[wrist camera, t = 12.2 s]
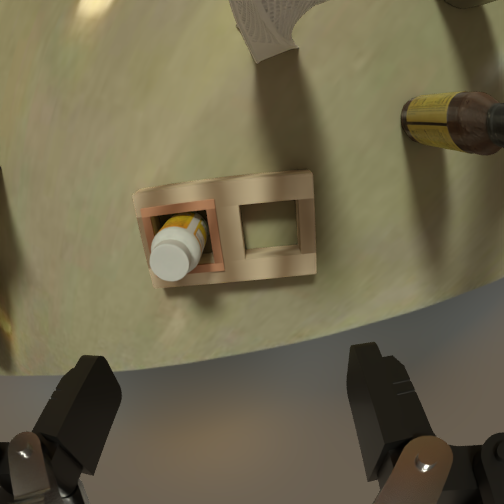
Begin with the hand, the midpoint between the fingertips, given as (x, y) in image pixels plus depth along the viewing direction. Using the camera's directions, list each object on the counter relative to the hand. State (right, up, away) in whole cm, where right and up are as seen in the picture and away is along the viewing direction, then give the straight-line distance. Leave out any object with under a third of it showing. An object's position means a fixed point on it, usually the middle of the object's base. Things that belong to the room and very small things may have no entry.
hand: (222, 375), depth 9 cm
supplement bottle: (-7, +7, +29) cm, 31 cm away
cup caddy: (-2, +7, +29) cm, 30 cm away
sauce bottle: (+22, +20, +23) cm, 38 cm away
